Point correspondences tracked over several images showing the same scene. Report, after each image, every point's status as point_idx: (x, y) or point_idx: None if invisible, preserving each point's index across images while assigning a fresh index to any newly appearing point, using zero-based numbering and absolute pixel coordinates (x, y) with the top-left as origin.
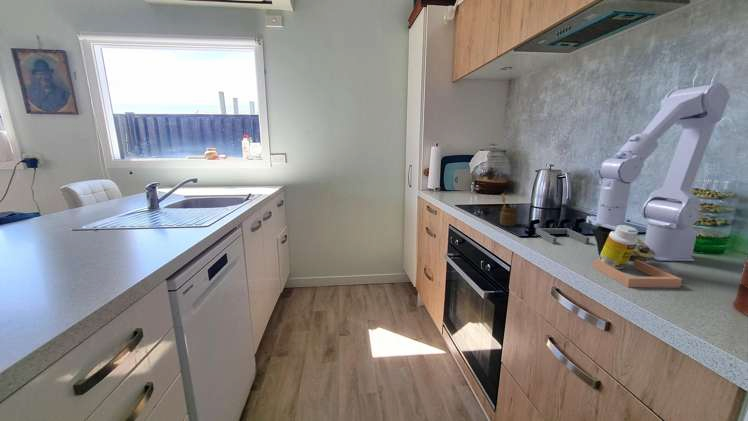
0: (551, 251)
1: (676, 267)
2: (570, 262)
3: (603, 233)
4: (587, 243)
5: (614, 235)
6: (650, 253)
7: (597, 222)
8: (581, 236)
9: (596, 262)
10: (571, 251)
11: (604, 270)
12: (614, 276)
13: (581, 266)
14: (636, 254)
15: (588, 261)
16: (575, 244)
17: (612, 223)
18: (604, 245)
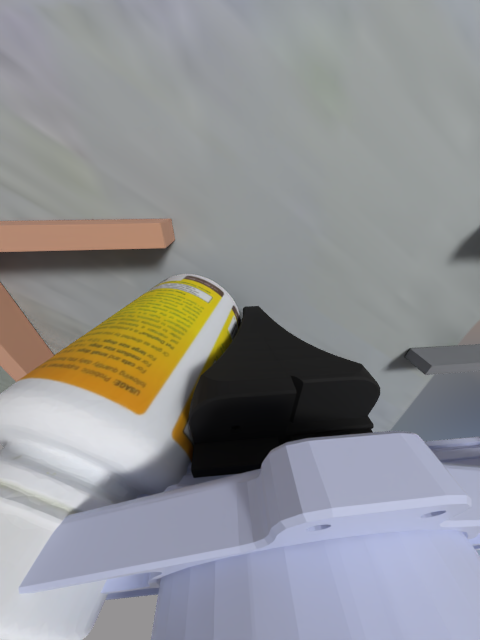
0: (419, 108)
1: None
2: (224, 117)
3: (202, 392)
4: (408, 355)
5: (29, 430)
6: None
7: (349, 533)
8: (456, 361)
9: (135, 222)
10: (371, 248)
11: (76, 221)
12: (6, 222)
13: (165, 153)
14: None
15: (243, 247)
16: (426, 316)
17: (154, 625)
18: (179, 323)
